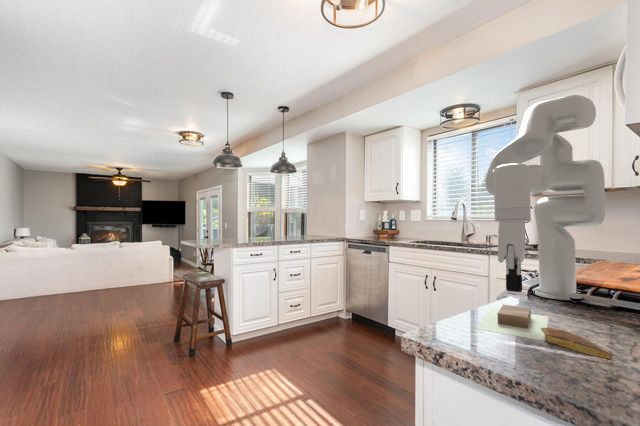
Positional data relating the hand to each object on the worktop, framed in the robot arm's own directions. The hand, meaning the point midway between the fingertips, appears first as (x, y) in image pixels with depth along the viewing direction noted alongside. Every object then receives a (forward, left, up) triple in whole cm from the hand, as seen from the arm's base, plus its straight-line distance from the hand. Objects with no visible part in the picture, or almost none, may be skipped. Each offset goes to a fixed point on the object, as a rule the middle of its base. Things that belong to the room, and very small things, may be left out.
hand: (514, 290), depth 79 cm
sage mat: (+1, 0, -8) cm, 8 cm away
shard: (+9, +11, -8) cm, 17 cm away
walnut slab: (-4, 0, -6) cm, 8 cm away
